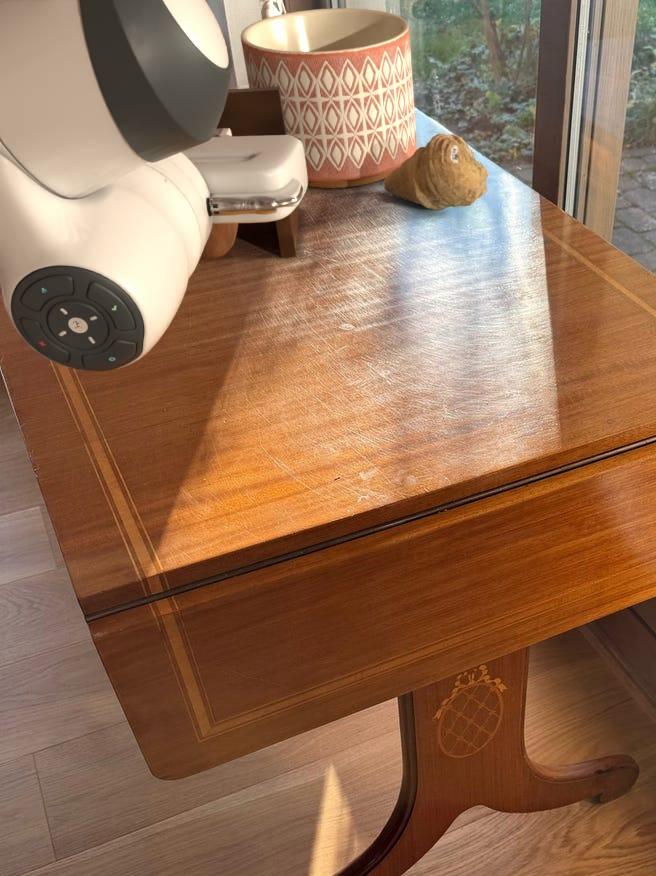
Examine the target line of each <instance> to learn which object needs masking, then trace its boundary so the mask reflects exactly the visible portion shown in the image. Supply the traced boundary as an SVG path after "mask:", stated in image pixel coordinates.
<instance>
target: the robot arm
mask: <svg viewBox="0 0 656 876" xmlns="http://www.w3.org/2000/svg"><path fill="white" fill-rule="evenodd" d="M232 72H233V61H232V55H231V52H230V50H229V47H228V44H227V41H226V39H225V36H224V35H223V31H222V30H221V27H220V24H219V23H218V21H217V18H216V16H215V14H214V13H213V10H212V9H211V7H210V6H209V4H208V3H207V1H206V0H0V290H1V291H0V292H1V295H2V301H3V305H4V308H5V311H6V314H7V317H8V318H9V321H10V322H11V324H12V326H13V328H14V330H15V331H16V332H17V333H18V335H19V336H20V337H21V338H22V340H24V342H25V343H26V344H27V345H28V346H29V347H30V348H31V349H32V350H34V351H35V352H36V353H37V354H39V355H41V356H42V357H44V358H45V359H47V360H48V361H50V362H53V363H55V364H58V365H60V366H63V367H65V368H69V369H73V370H76V371H77V370H78V371H85V372H95V373H96V372H109V371H114V370H118V369H122V368H125V367H127V366H130V365H132V364H135V363H136V362H137V361H139V360H141V359H142V358H143V357H144V356H146V355H147V354H148V353H149V352H150V351H151V350H152V349H153V348H154V347H155V345H156V344H157V343H158V342H159V341H160V339H161V338H162V337H163V335H164V334H165V333H166V331H167V330H168V328H169V327H170V325H171V323H172V321H173V319H174V318H175V316H176V314H177V313H178V310H179V308H180V306H181V304H182V302H183V299H184V297H185V295H186V291H187V288H188V284H189V279H190V278H191V276H192V275H193V273H194V272H195V270H196V268H197V265H198V264H199V262H200V260H199V259H200V257H201V254H202V252H203V250H204V247H205V245H206V242H207V240H208V238H209V235H210V232H211V229H212V224H222V223H238V224H255V223H257V224H258V223H259V224H260V223H270V222H275V221H276V220H280V219H282V218H285V217H286V216H288V215H289V214H290V213H291V212H292V211H293V210H294V209H295V208H296V207H297V205H298V206H299V205H300V203H301V201H302V199H303V198H304V196H305V194H306V192H307V190H308V187H309V186H308V177H307V168H306V160H305V154H304V148H303V144H302V142H301V141H300V140H299V139H297V138H295V137H293V136H290V135H269V136H232V134H231V130H230V128H219V129H216V128H217V126H218V123H219V121H220V118H221V115H222V113H223V110H224V106H225V103H226V99H227V95H228V91H229V89H230V85H231V79H232Z"/></svg>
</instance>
